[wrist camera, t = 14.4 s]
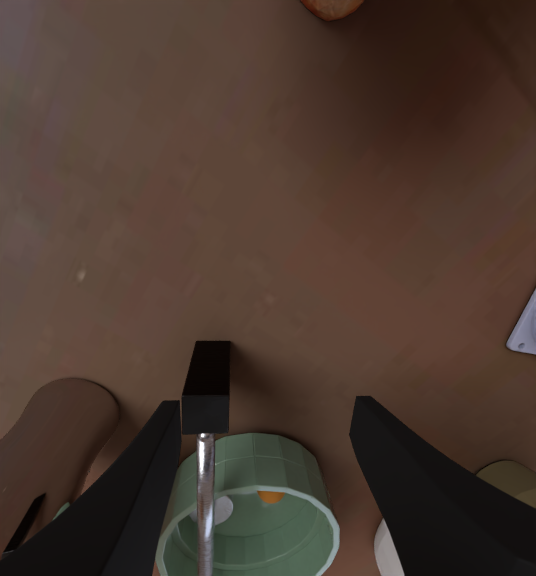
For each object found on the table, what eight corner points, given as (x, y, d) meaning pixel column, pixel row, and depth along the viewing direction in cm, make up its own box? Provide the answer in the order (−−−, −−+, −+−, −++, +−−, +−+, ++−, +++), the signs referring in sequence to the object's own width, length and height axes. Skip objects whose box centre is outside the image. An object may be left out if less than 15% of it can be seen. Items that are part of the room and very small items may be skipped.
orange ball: (262, 469, 26) (289, 470, 25) (260, 503, 24) (289, 505, 24) (253, 464, 24) (282, 465, 23) (250, 501, 23) (281, 503, 22)
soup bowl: (339, 435, 25) (363, 492, 21) (299, 539, 29) (311, 608, 24) (182, 418, 23) (169, 478, 18) (161, 534, 27) (146, 608, 22)
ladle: (232, 510, 26) (232, 607, 20) (189, 513, 25) (175, 612, 19) (239, 340, 21) (241, 397, 15) (187, 340, 21) (168, 398, 15)
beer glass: (20, 442, 22) (-355, 895, 8) (27, 362, 20) (-454, 780, 6) (118, 455, 23) (-54, 863, 9) (134, 382, 22) (-54, 761, 7)
